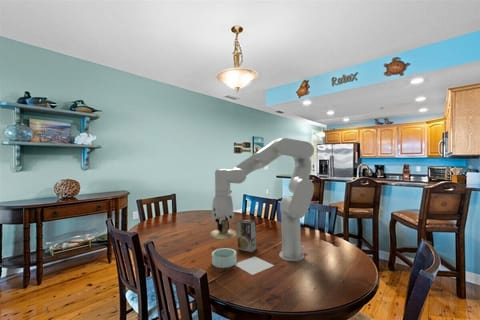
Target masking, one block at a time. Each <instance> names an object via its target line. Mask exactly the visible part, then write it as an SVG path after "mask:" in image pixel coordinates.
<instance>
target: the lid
mask: <svg viewBox="0 0 480 320" xmlns="http://www.w3.org/2000/svg"><path fill="white" fill-rule="evenodd" d="M221 223H222V232H220V231H218V229H214V230H212V231H210V234H209V235H210V237H211V238H213V239H216V240H227V239H229V240H230V239H232V238H235V237H236V236H238V232H237V231H236V230H234V229H232V228H229V230H228V221H227V220H225V219H222V221H221Z"/></svg>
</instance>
